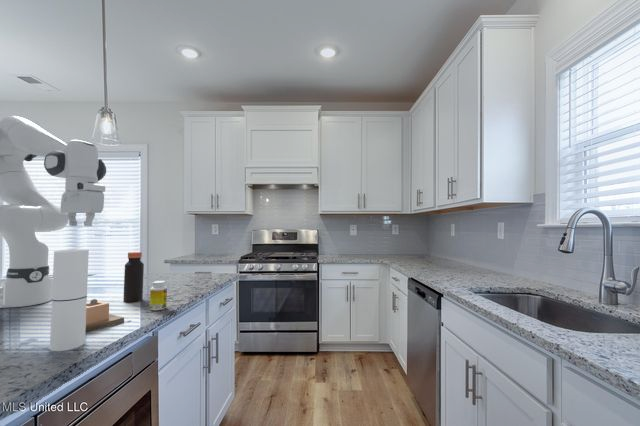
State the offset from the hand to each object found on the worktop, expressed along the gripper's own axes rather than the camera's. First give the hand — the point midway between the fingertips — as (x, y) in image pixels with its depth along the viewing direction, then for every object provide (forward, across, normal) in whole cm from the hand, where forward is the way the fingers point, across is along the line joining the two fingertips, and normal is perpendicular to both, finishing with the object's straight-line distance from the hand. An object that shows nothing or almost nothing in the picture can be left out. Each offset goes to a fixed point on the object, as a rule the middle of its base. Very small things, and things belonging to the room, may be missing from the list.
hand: (80, 226), depth 104 cm
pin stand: (+31, +14, -2) cm, 34 cm away
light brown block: (+30, +14, -2) cm, 33 cm away
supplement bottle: (+31, +16, +19) cm, 40 cm away
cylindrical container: (+31, +26, -14) cm, 43 cm away
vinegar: (+31, -4, +22) cm, 38 cm away
